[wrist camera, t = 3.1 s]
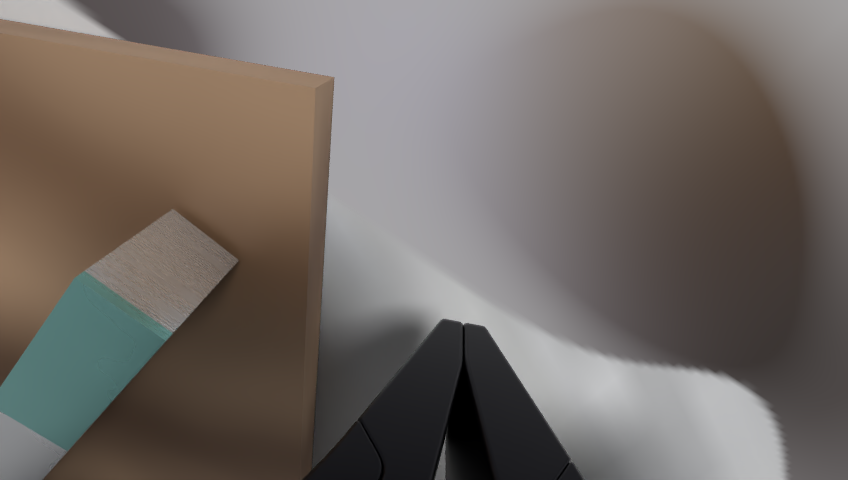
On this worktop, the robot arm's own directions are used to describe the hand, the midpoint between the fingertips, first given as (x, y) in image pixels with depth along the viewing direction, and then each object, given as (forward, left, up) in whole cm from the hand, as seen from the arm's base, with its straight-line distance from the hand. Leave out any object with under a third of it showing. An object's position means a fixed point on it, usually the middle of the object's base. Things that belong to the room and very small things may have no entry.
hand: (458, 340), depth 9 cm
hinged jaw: (-5, +9, -1) cm, 11 cm away
